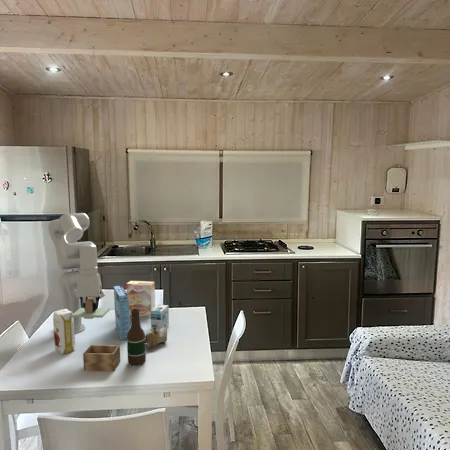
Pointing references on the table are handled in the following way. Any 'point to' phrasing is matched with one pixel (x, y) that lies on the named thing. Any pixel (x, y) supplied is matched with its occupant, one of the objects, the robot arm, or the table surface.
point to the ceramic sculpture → (156, 337)
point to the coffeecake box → (141, 296)
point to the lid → (90, 311)
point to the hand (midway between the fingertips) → (90, 310)
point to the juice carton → (64, 331)
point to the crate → (101, 358)
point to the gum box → (122, 311)
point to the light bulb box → (159, 316)
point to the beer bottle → (136, 341)
